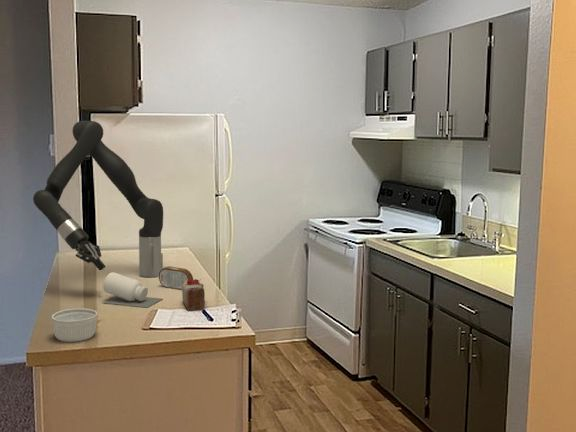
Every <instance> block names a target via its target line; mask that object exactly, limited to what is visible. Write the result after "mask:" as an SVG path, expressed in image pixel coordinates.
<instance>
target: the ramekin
mask: <svg viewBox="0 0 576 432" xmlns="http://www.w3.org/2000/svg"><path fill="white" fill-rule="evenodd" d="M97 320H98V311H96V310H94V309H91V308H85V307H84V308H82V307H80V308H69V309H63V310H59V311H57V312H54V313H53V314H52V315H51V322H52V327H53V333H54V335H55V338H57V340H58V341H59V342H65V343H75V342H81V341H85V340H89V339H91V338H92V337H94V334H95V333H96V329H97V328H96V327H97Z"/></svg>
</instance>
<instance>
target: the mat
mask: <svg viewBox="0 0 576 432" xmlns="http://www.w3.org/2000/svg"><path fill="white" fill-rule="evenodd" d="M162 301H163V298H161V297H150V296H148V297H147V296H146V298H145V299H144V300H143V301H139V300H135V301H128V300H125V299H122V298H120V297H117V296H113V297H111V298H109V299H108V300H104V301H103V302H102V304H104V305H113V306H115V305H116V306H122V307H123V306H125V307H131V308H132V307H133V308H134V307H135V308H144V309H149V308H150V307H152V306H154V305H156V304H158V303H159V302H162Z"/></svg>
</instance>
